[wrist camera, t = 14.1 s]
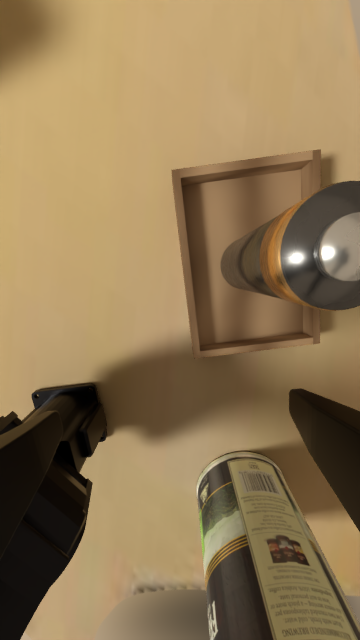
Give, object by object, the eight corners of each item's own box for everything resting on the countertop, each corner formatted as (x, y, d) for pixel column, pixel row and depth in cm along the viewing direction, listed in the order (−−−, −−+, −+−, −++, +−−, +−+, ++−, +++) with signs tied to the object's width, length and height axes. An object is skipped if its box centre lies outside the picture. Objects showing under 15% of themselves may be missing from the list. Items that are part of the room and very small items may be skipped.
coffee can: (211, 533, 27) (246, 812, 13) (184, 465, 25) (191, 709, 11) (294, 510, 26) (425, 778, 12) (273, 439, 24) (402, 662, 10)
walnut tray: (192, 350, 22) (194, 358, 20) (172, 182, 19) (171, 170, 17) (305, 336, 22) (320, 343, 19) (304, 164, 19) (320, 149, 16)
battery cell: (209, 265, 20) (260, 251, 7) (245, 226, 19) (368, 138, 7) (244, 299, 20) (344, 338, 8) (280, 262, 20) (451, 243, 7)
